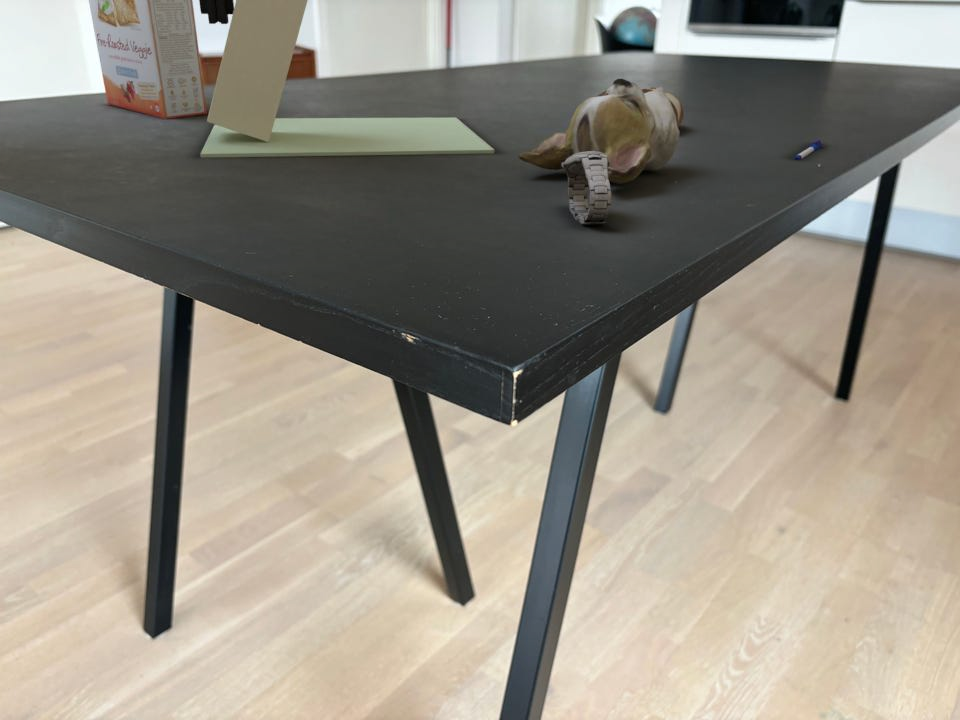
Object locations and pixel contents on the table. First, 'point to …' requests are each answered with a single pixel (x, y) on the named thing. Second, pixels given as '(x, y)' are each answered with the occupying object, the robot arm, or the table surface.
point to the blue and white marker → (809, 150)
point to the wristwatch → (588, 186)
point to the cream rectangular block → (255, 65)
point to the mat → (349, 138)
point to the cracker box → (150, 56)
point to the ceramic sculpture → (616, 132)
